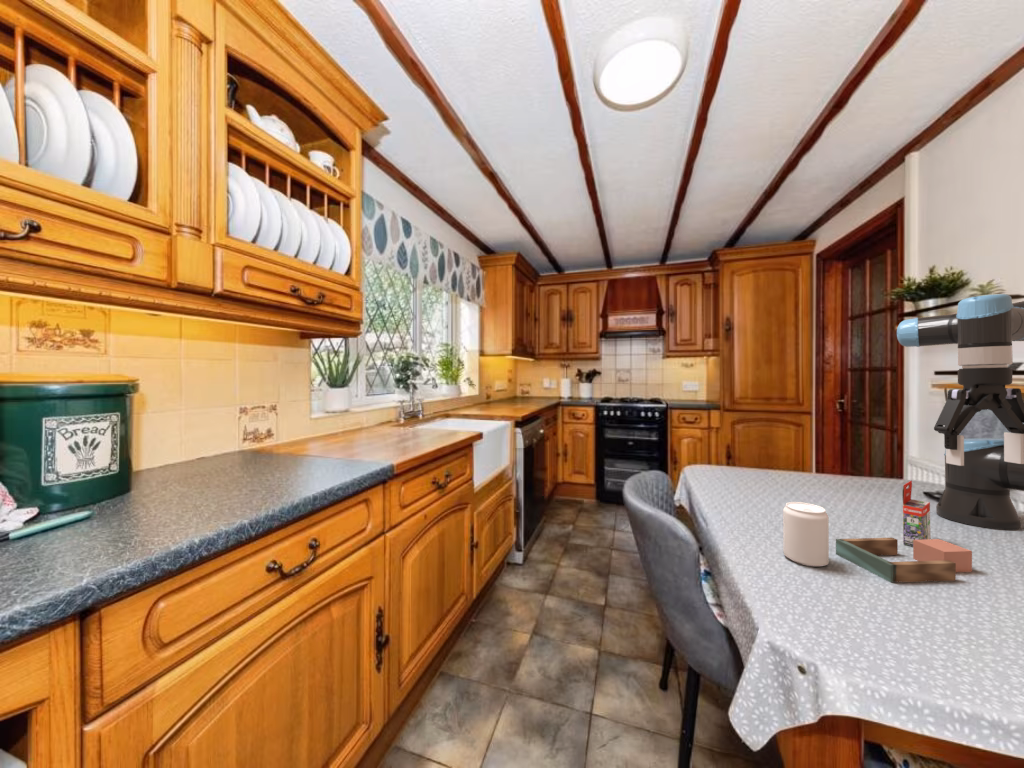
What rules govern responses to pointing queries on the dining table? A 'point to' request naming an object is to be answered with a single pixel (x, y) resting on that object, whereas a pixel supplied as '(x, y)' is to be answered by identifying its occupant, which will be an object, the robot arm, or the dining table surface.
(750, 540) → the dining table surface
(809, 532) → the beverage can
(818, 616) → the dining table surface
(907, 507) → the ink box
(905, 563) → the bay
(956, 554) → the terracotta brick
